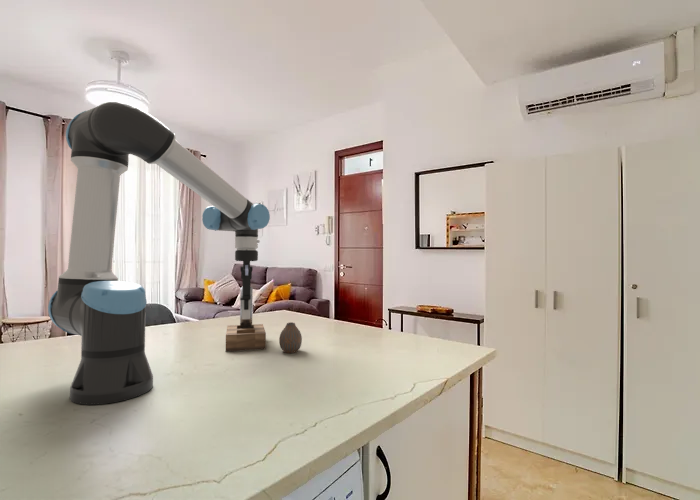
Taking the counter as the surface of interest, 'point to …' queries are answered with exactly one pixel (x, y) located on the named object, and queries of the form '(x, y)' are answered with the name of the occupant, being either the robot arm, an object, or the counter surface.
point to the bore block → (245, 338)
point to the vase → (290, 338)
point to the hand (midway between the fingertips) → (245, 317)
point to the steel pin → (248, 322)
